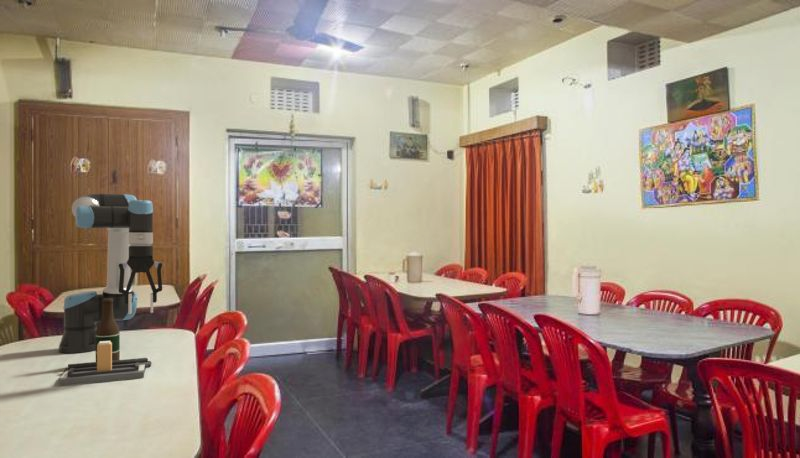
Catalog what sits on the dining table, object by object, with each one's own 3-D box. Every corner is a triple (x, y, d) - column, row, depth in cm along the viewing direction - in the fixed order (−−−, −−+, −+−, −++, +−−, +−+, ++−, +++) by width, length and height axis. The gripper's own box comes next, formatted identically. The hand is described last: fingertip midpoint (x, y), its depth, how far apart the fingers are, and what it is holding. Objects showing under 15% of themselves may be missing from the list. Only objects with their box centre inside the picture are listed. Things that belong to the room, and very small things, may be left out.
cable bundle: (63, 375, 184) (63, 365, 184) (65, 372, 188) (65, 363, 188) (151, 367, 195) (151, 358, 195) (151, 365, 198) (151, 356, 198)
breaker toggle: (98, 369, 183) (98, 341, 183) (112, 368, 184) (112, 340, 184) (97, 372, 179) (97, 343, 179) (110, 371, 181) (110, 342, 181)
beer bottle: (109, 367, 195) (109, 300, 195) (90, 366, 197) (90, 299, 197) (124, 361, 203) (124, 297, 203) (106, 361, 204) (106, 297, 204)
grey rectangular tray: (66, 376, 183) (66, 366, 183) (145, 369, 192) (145, 359, 192) (59, 386, 172) (59, 375, 172) (143, 377, 181) (143, 367, 181)
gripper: (108, 245, 179) (108, 316, 179) (171, 245, 186) (171, 312, 186) (110, 245, 186) (110, 313, 186) (171, 244, 193) (171, 309, 193)
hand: (140, 312), depth 186 cm, fingers open, 6 cm apart
